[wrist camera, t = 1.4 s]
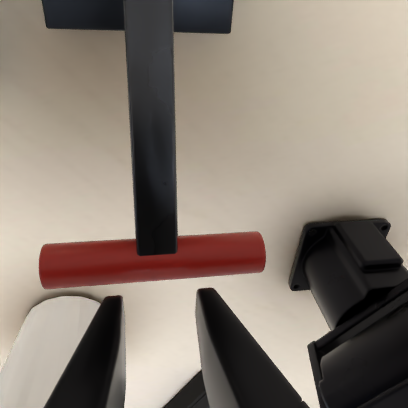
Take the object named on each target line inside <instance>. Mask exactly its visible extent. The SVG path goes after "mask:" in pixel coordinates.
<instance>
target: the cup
mask: <svg viewBox="0 0 408 408" xmlns="http://www.w3.org/2000/svg"><path fill="white" fill-rule="evenodd" d="M99 306H100V303H99V302H97V301H94V300H91V299H87V298H84V297H78V296H61V297H57V298H52V299H48V300H45V301H43V302H41V303H40V304H38V305H37V306H35V307H33V308H32V309H31V311H30V312H29V314H28V315H27V317H26V318H25V320H24V323H23V325H22V327H21V329H20V331H19V333H18V335H17V338H16V340H15V342H14V344H13V346H12V348H11V350H10V353H9V355H8V357H7V359H6V361H5V363H4V365H3V367H2V370H1V372H0V408H44V406H45V404H46V402H47V400H48V399H49V397H50V395H51V393H52V391H53V390H54V388H55V386H56V384H57V382H58V380H59V379H60V377H61V375H62V373H63V371H64V370H65V368H66V366H67V364H68V362H69V361H70V359H71V357H72V355H73V353H74V352H75V350H76V348H77V346H78V344H79V342H80V341H81V339H82V337H83V335H84V333H85V332H86V330H87V328H88V326H89V324H90V323H91V321H92V319H93V317H94V315H95V314H96V312H97V310H98V308H99Z"/></svg>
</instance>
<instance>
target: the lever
mask: <svg viewBox="0 0 408 408" xmlns="http://www.w3.org/2000/svg"><path fill="white" fill-rule="evenodd" d="M123 3H124V23H125V42H126V61H127V80H128V99H129V119H130V138H131V157H132V176H133V195H134V215H135V234H136V239H121V240H104V241H88V242H71V243H54V244H45V245H43V247H42V249H41V252H40V257H39V276H40V281H41V284H42V287H43V288H44V289H57V288H69V287H82V286H95V285H108V284H121V283H133V282H146V281H159V280H172V279H185V278H197V277H210V276H223V275H236V274H249V273H260V272H262V271H263V270H264V267H265V262H266V251H265V244H264V241H263V238H262V235H261V234H260V233H259V232H239V233H222V234H205V235H189V236H178V231H177V181H176V131H175V82H174V32H173V0H123Z"/></svg>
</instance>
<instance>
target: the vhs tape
mask: <svg viewBox="0 0 408 408" xmlns="http://www.w3.org/2000/svg"><path fill="white" fill-rule="evenodd" d="M164 408H210V406H209V402H208V398H207V393H206V389H205V385H204V380H203V374H202V371H201V372H200V373H199V374H198V375H197V376H196V377H195V378H194V379H193V380H192V381H191V382H190V383H188V384H187V385H186V386H185V387H184V388H183V389H182V390H181V391H180V392H179V393H178V394H177V395H176V396H175V397H174V398H173V399H172V400H171V401H170V402H169V403H168V404H167V405H166V406H165V407H164Z"/></svg>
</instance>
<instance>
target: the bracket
mask: <svg viewBox="0 0 408 408" xmlns="http://www.w3.org/2000/svg"><path fill="white" fill-rule="evenodd" d="M233 1H234V0H173V32H183V33H217V34H229V33H230V32H231V23H232V12H233ZM42 6H43V12H44V17H45V23H46V27H47V28H49V29H79V30H114V31H125V23H124V3H123V0H42Z"/></svg>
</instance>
